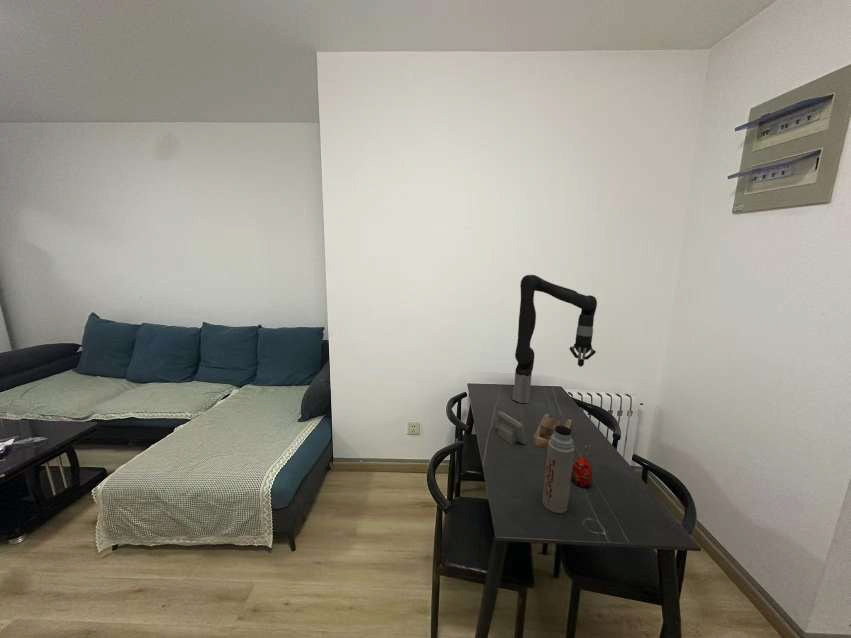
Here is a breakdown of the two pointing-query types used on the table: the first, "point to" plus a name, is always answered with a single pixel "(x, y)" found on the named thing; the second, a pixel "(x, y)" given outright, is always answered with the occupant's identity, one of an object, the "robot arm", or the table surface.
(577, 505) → the table surface
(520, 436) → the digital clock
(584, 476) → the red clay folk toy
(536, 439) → the chute
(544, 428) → the block
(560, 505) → the thermos bottle
